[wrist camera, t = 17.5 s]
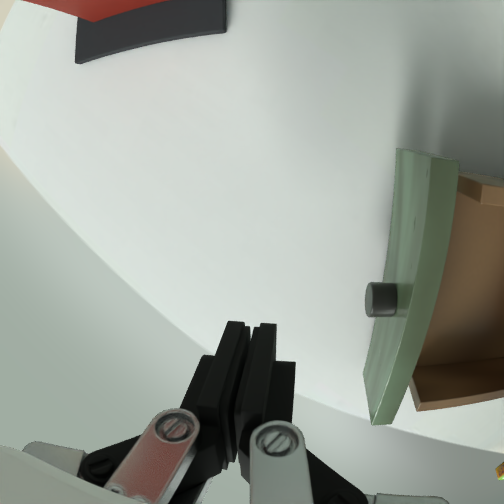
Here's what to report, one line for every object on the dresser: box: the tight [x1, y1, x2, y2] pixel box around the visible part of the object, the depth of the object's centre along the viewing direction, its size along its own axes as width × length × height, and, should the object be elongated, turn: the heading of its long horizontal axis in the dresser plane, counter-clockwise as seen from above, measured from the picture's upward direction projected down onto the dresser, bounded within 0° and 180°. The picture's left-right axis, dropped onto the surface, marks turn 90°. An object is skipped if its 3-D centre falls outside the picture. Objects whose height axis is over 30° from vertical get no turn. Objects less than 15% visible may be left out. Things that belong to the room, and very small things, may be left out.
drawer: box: [363, 148, 504, 425], centre depth 13 cm, size 15×13×4 cm
